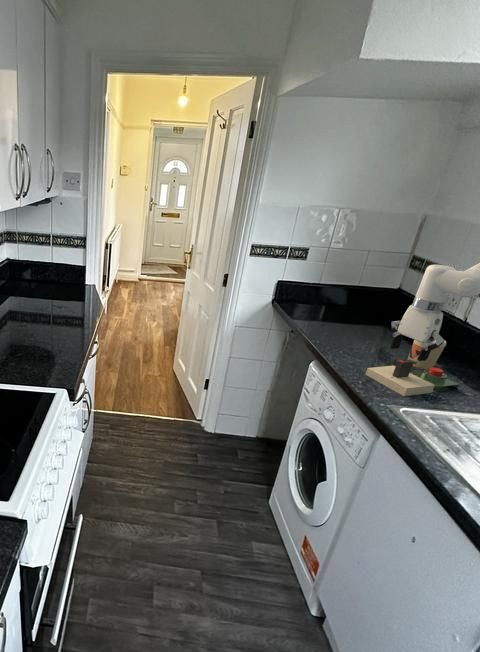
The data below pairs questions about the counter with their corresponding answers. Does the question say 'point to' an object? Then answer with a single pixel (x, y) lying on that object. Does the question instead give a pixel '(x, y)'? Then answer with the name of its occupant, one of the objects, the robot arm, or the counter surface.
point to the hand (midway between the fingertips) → (407, 354)
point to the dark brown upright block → (403, 368)
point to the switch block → (436, 380)
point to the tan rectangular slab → (400, 381)
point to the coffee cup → (431, 358)
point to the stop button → (436, 371)
